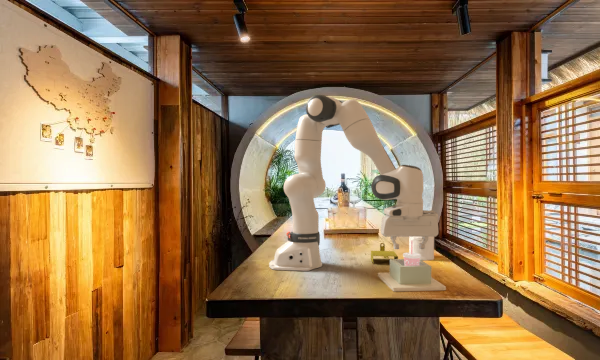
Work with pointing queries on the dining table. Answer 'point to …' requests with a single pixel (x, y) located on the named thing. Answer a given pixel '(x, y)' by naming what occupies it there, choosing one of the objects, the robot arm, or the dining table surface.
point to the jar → (425, 253)
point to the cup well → (410, 277)
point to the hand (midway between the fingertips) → (409, 248)
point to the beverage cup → (411, 257)
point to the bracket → (383, 253)
